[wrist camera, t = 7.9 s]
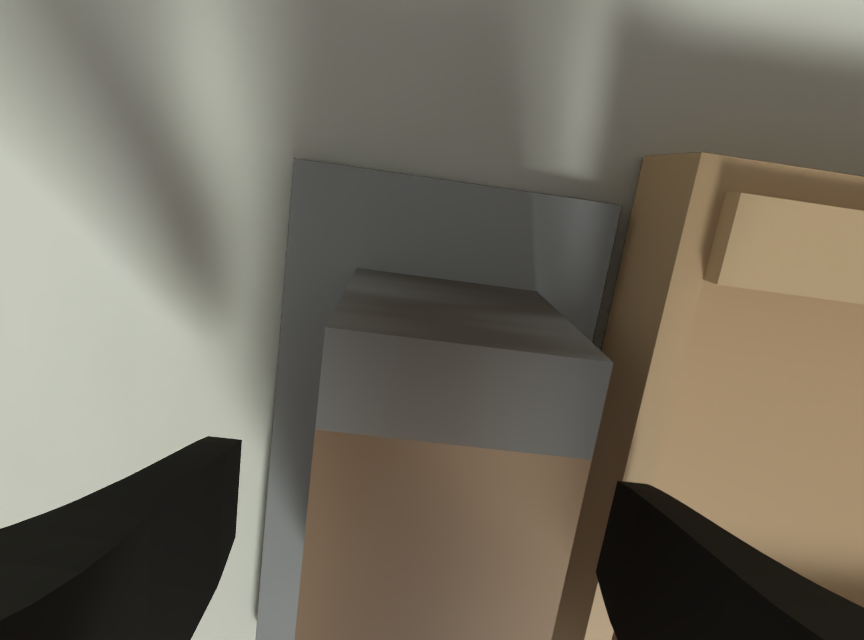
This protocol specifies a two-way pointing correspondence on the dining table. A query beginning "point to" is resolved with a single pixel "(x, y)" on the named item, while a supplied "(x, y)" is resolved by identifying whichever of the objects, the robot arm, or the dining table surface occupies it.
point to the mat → (414, 255)
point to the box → (446, 462)
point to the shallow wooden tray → (735, 369)
